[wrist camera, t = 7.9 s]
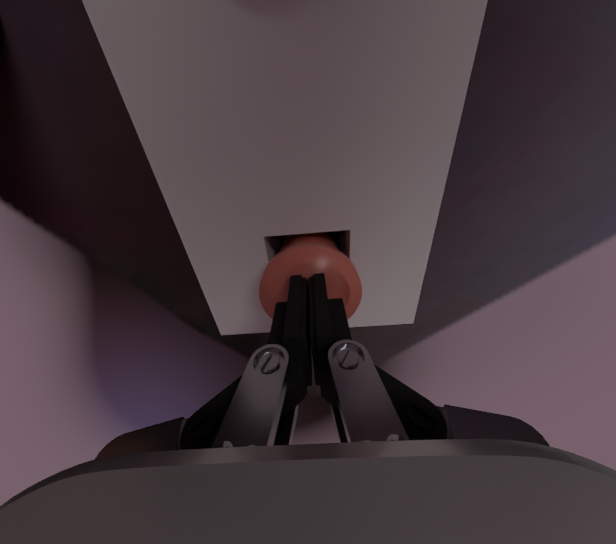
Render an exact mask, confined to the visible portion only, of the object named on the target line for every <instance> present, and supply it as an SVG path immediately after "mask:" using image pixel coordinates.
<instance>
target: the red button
mask: <svg viewBox="0 0 616 544" xmlns="http://www.w3.org/2000/svg"><path fill="white" fill-rule="evenodd" d="M317 273H324V274H325V282H326V289H327V297H328V299H334V298H342V299H343V303H344V307H345V312H346V316H347V320H348V319H349V318H350V317H351V316H352V315H353V314H354V313H355V311H356V310H357V308H358V306H359V304H360V301H361V297H362V285H361V281H360V278H359V276H358V273H357V270H356V268H355V266H354V264H353V263H352V261H351V260H350V259H349V258H348V257H347V256H346V255H345V254H344V253H342V252H341V251H339V249H338V246H337V244H336V242H335V240H334V239H333V238H332V237H331V236H330V235H329V234H328V233H326V232H317V233H305V234H292V235H289V236H288V237H287V238H286V240H285V241H284V243H283V245H282V247H281V251H280V252H279V253H278V254H276V255H275V256H274V257H273V258H272V259H271V260H270V261H269V263H268V264H267V266H266V268H265V270H264V273H263V276H262V279H261V282H260V286H259V298H260V302H261V305H262V307H263V309H264V310H265V312H266V313H267V315H268V316H269V317H270V318H271V319H272V320H273V315H274V310H275V305H276V303H277V302H287V300H288V292H289V284H290V276H291V275H302V277H306V280H307V290H308V299H309V309H310V281H309V277H314V274H317Z"/></svg>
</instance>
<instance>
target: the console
mask: <svg viewBox="0 0 616 544" xmlns="http://www.w3.org/2000/svg"><path fill="white" fill-rule="evenodd" d="M82 2H83V4H84V6H85V9H86V11H87V14H88V16H89V19H90V21H91V23H92V26H93V28H94V31H95V33H96V35H97V38H98V40H99V43H100V45H101V47H102V50H103V52H104V55H105V57H106V59H107V62H108V64H109V67H110V69H111V71H112V74H113V76H114V79H115V81H116V83H117V86H118V88H119V91H120V93H121V96H122V98H123V100H124V103H125V105H126V108H127V110H128V112H129V115H130V117H131V120H132V122H133V124H134V127H135V129H136V132H137V134H138V136H139V139H140V141H141V144H142V146H143V148H144V151H145V153H146V156H147V158H148V160H149V163H150V165H151V168H152V170H153V173H154V175H155V177H156V180H157V182H158V185H159V187H160V189H161V192H162V194H163V197H164V199H165V201H166V204H167V206H168V209H169V211H170V213H171V216H172V218H173V221H174V223H175V225H176V228H177V230H178V233H179V235H180V237H181V240H182V242H183V245H184V247H185V250H186V252H187V254H188V257H189V259H190V262H191V264H192V266H193V269H194V271H195V274H196V276H197V278H198V281H199V283H200V286H201V288H202V290H203V293H204V295H205V298H206V300H207V302H208V305H209V307H210V310H211V312H212V314H213V317H214V319H215V322H216V324H217V326H218V329H219V331H220V334H221V335H232V334H248V333H264V332H270V330H271V325H272V319H271V318H270V317H269V316H268V315H267V313H266V312H265V310H264V309H263V307H262V305H261V302H260V298H259V286H260V282H261V279H262V276H263V273H264V270H265V268H266V266H267V264H268V263H269V261H270V260H271V259H272V258H273V257H274V256H275V255H276V254H278V253H279V252H280V251H281V245H280V239H279V236H280V235H292V234H305V233H317V232H330V231H339V251H341V252H342V253H344V254H345V255H346V256H347V257H348V258H349V259H350V260H351V261H352V263H353V264H354V266H355V268H356V270H357V273H358V276H359V278H360V281H361V285H362V297H361V301H360V304H359V306H358V308H357V310H356V311H355V313H354V314H353V315H352V316H351V317H350V318H349V319H348V320H347V321H348V325H349V327H362V326H378V325H395V324H411V323H413V322H414V318H415V313H416V309H417V305H418V300H419V296H420V292H421V287H422V283H423V279H424V274H425V270H426V266H427V261H428V257H429V253H430V248H431V244H432V240H433V235H434V231H435V227H436V223H437V218H438V214H439V210H440V205H441V201H442V197H443V192H444V188H445V184H446V179H447V175H448V171H449V166H450V162H451V158H452V153H453V149H454V145H455V140H456V136H457V132H458V127H459V123H460V119H461V114H462V110H463V106H464V101H465V97H466V93H467V88H468V84H469V80H470V75H471V71H472V67H473V62H474V58H475V54H476V49H477V45H478V41H479V36H480V32H481V28H482V23H483V19H484V15H485V10H486V6H487V2H488V0H82Z"/></svg>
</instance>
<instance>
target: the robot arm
mask: <svg viewBox="0 0 616 544" xmlns="http://www.w3.org/2000/svg"><path fill="white" fill-rule="evenodd" d="M309 281H310V309H309V299H308V290H307V280H306V277H302V275H291V276H290V284H289V292H288V300H287V302H277V303H276V305H275V310H274V315H273V320H272V325H271V330H270V335H269V341H268V345H265V346H262V347H261V348H259V349H257V350H256V351H255V352H254V353H253V354H252V356H251V358H250V359H249V362H248V364H247V366H246V369H245V371H244V373H243V375H242V376H241V377H239V378H238V379H237V380H235V381H234V382H233V383H232V384H231V385H229V386H228V387H227V388H225V389H224V390H223V391H222V392H220V393H219V394H218V395H216V396H215V397H214V398H213V399H211V400H210V401H209V402H208V403H206V404H205V405H204V406H202V407H201V408H200V409H199V410H198V411H196V412H195V413H194V414H193V415H192V416H191V417H190V418H188V419H184V417H180V418H177V419H173V420H170V421H166V422H163V423H160V424H156V425H153V426H149V427H146V428H143V429H139V430H135V431H132V432H129V433H125V434H123V435H121V436H118V437H116V438H115V439H114V440H112V441H111V442H109V443H108V444H107V445H106V446H105V447H104V448H103V449H102V450H101V452H99V454H98V455H97V457H96V458H95V460H92V461H88V462H85V463H82V464H79V465H76V466H74V467H71V468H68V469H66V470H63V471H61V472H59V473H56V474H55V475H52V476H50V477H48V478H46V479H44V480H42V481H40V482H38V483H36V484H34V485H32V486H31V487H29V488H27V489H25V490H24V491H22V492H20V493H19V494H17V495H15V496H14V497H12V498H11V499H9V500H8V501H7V502H5V503H4V504H3V505H1V506H0V544H616V471H615V470H613V469H611V468H609V467H606V466H604V465H602V464H599V463H597V462H595V461H592V460H590V459H587V458H584V457H582V456H579V455H576V454H574V453H571V452H567V451H564V450H561V449H557V448H554V447H550V446H549V444H548V443H547V441H546V440H545V439H544V437H543V436H542V435H541V434H540V433H539V432H538V431H536V430H535V429H534V428H533V427H532V426H530V425H529V424H527V423H525V422H524V421H522V420H520V419H517V418H514V417H511V416H505V415H500V414H494V413H489V412H483V411H477V410H472V409H467V408H461V407H455V406H450V405H444V407H439V406H435V405H434V404H433V403H432V402H430V401H429V400H428V399H426V398H425V397H423V396H421V395H420V394H419V393H417V392H415V391H414V390H412V389H411V388H409V387H408V386H406V385H405V384H403V383H402V382H400V381H399V380H397V379H396V378H394V377H392V376H391V375H389V374H388V373H386V372H385V371H383V370H381V369H380V368H379V367H377V366H376V365H374V364H373V362H372V360H371V357H370V355H369V353H368V351H367V350H366V348H365V347H364V346H363V345H361V344H360V343H358V342H356V341H353V340H352V338H351V334H350V329H349V325H348V321H347V316H346V312H345V307H344V303H343V299H342V298H334V299H328V297H327V289H326V282H325V274H324V273H317V274H314V277H309ZM311 346H312V355H313V364H314V373H315V382H316V385H320V387H321V396H322V397H323V398H324V399H325V400H326V401H327V402H328V403H330V404H331V410H332V415H333V419H334V423H335V428H336V432H337V436H338V440H339V443H328V444H304V445H303V444H302V445H292V442H293V436H294V430H295V425H296V419H297V413H298V404H299V403H300V402H301V401H302V400H303V398H305V394H307V386H312V361H311Z"/></svg>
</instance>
